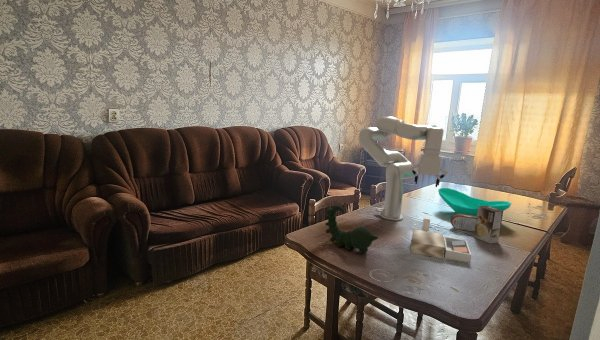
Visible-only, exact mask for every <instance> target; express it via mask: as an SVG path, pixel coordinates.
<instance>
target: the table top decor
mask: <svg viewBox="0 0 600 340" xmlns="http://www.w3.org/2000/svg"><path fill="white" fill-rule="evenodd" d="M437 192H438V196H440V198H441V199H442V200H443V201H444V203H446V204H447V206H448V207H450V209H452V210H453V211H454V212H455V213H456V214H465V215H471V216H477V213H478V207H479V206H486V205H487V206H490V207H493V208H496V209H499V210H502V211H503V212H504V211H506V210H508V209H509V208H510V207H511V205H512V202H510V201H506V200H491V201H490V200H484V199H480V198H476V197H472V196H470V195H467V194H466V193H464V192H461V191H459V190H456V189H453V188H448V187H441V188H438V190H437Z"/></svg>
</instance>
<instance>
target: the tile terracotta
mask: <svg viewBox="0 0 600 340" xmlns="http://www.w3.org/2000/svg"><path fill="white" fill-rule="evenodd" d="M453 249H454V251H457V252H462V253H467V254H468V251H467V248H466V247H453Z"/></svg>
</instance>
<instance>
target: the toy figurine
mask: <svg viewBox="0 0 600 340" xmlns="http://www.w3.org/2000/svg"><path fill="white" fill-rule="evenodd" d="M338 211H341V212H343V213H344V212H345V210H344V208H343V207H342V206H341V205H334V206H332V207H331V208H328V210H326V211H325V214H327V216H325V219H326V220H327V222H326V223H325V224H324V225H325V226H326V227H328V228H327V229H326V230H325V233H327V234H331V237H330V239H329V241H330V242H331V243H334V242H335V241H336V246H337V248H341V247H343V246H344V248H345V250H347V251H348V250H351V249H352V248H353V247H354V248H355V249H358V252H359V253H360V254H361V255H365V254H366V253H367V252H368V251H369V247H370V246H371V245H372V243H373V241H377V240H378V239H379V237H378V236H376V235H374V234H373V233H372V232H371V230H370V229H368V228H367V227H365V226H357V227H355V228H353V229H352V230H348V231H344V230H340V228H339V226H338V221H337V220H336V219H337V216H336V212H338Z"/></svg>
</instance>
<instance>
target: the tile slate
mask: <svg viewBox="0 0 600 340" xmlns="http://www.w3.org/2000/svg"><path fill="white" fill-rule="evenodd" d="M464 240H465V239H462V241H452V246H453V247H466V246H465V242H464ZM453 250H454V249H453Z"/></svg>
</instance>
